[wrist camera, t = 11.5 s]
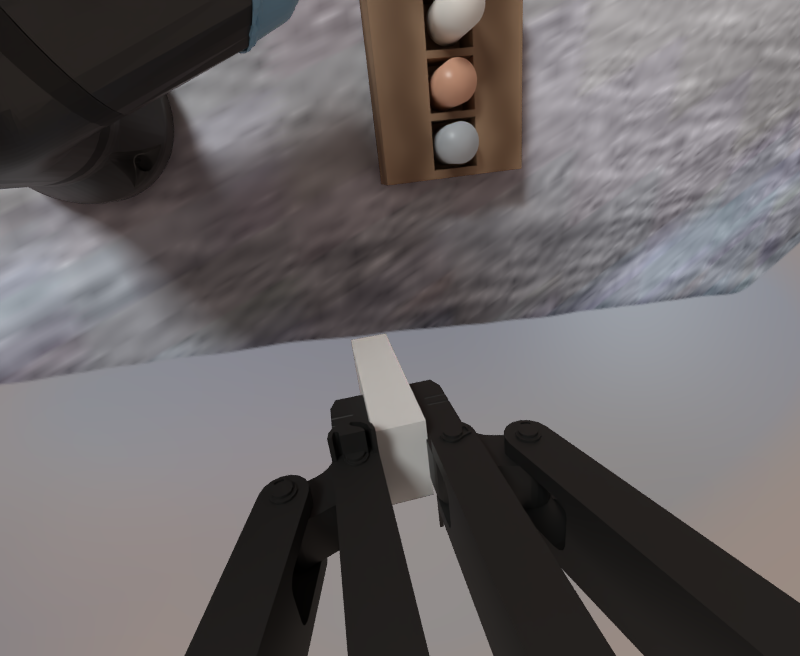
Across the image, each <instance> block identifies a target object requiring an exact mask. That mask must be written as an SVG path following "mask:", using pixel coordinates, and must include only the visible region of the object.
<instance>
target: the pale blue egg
mask: <svg viewBox="0 0 800 656" xmlns="http://www.w3.org/2000/svg"><path fill="white" fill-rule="evenodd" d="M432 141H433V155H434V160H435V161H436V162H437V163H440V164H462V163H466V162H468V161H469V160H471V159H472V158H473V157H474V155H475V154H476V152H477V150H478V146H479V137H478V133H477V131H476V129H475V128H474V127H473V126H472V125H471V124H470V123H468V122H464V121H459V122H455V123H452V124H449V125H446V126H443V127H440V128H438V129H436V130H435V131H434V132H433V133H432Z"/></svg>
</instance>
